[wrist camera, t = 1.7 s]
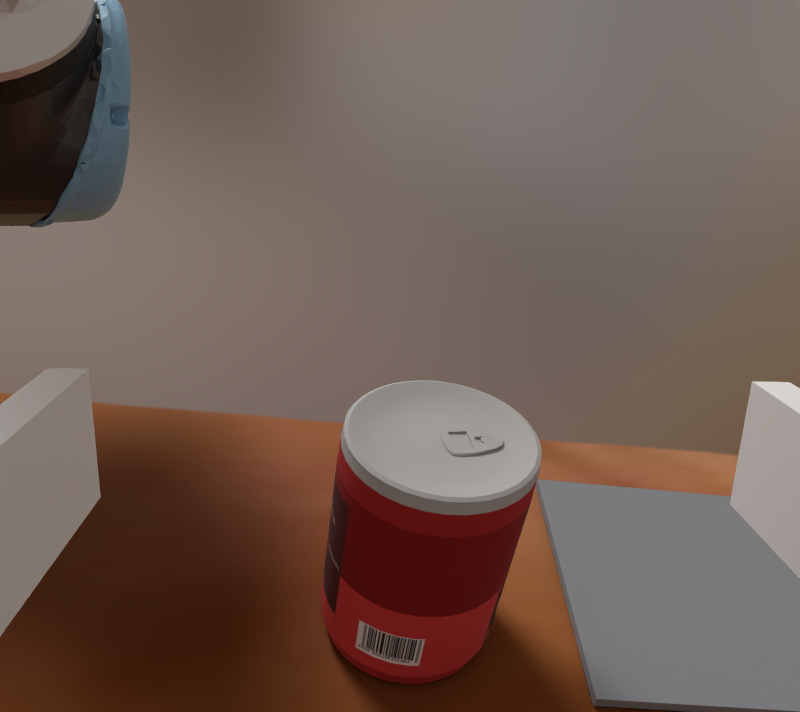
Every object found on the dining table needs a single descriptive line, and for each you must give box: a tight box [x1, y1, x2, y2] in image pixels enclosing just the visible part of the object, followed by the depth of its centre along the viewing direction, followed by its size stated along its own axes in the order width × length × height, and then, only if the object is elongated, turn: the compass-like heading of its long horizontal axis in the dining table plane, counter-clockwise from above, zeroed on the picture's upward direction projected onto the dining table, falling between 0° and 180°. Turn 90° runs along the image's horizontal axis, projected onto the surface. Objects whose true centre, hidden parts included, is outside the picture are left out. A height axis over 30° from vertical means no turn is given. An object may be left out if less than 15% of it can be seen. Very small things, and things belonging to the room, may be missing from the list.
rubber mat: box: [536, 479, 800, 712], centre depth 39 cm, size 16×14×1 cm
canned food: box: [321, 380, 542, 684], centre depth 32 cm, size 8×8×11 cm
